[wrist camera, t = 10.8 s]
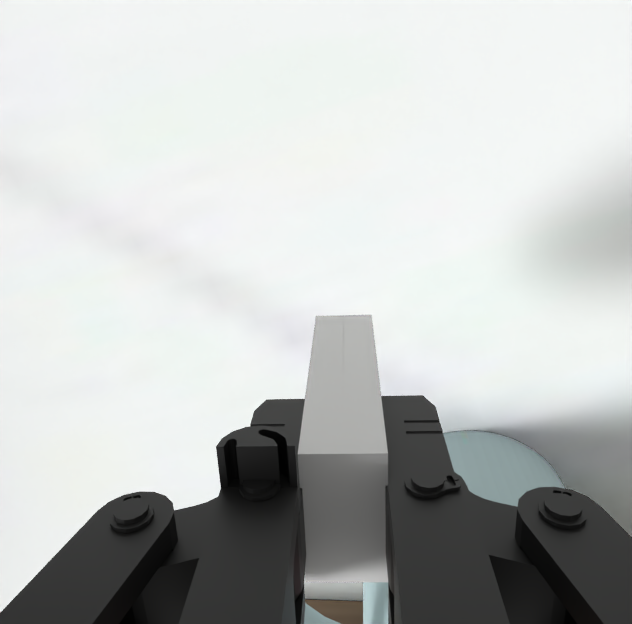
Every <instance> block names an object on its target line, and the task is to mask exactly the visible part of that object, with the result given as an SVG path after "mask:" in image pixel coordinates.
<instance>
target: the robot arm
mask: <svg viewBox="0 0 632 624" xmlns="http://www.w3.org/2000/svg"><path fill="white" fill-rule="evenodd" d="M216 449H217V457H218V466H219V474H220V483H221V490H220V493H219V496H218V497H217V498H215V499H213V500H211V501H209V502H206V503H203V504H200V505H196V506H192V507H188V508H184V509H179V510H175V511H174V509H173V503H172V502H171V501H170V500H169V499H168V498H167V497H166V496H164V495H161V494H158V493H155V492H136V493H131V494H127V495H123V496H121V497H119V498H116V499H114V500H112V501H110V502H108V503H107V504H106V505H105V506H103V507H102V508H101V509H99V510H98V511H97V512H96V513H95V514H94V515H93V516H92V517H91V518H90V519H89V520H88V522H87V523H86V524H85V525H84V526H83V527H82V528H81V529H80V530H79V531H78V532H77V533H76V534H75V535H74V536H73V537H72V538H71V539H70V540H69V541H68V543H67V544H66V545H65V546H64V547H63V548H62V549H61V550H60V551H59V552H58V553H57V554H56V555H55V556H54V557H53V558H52V559H51V560H50V561H49V562H48V563H47V565H46V566H45V567H44V568H43V569H42V570H41V571H40V572H39V573H38V574H37V575H36V576H35V577H34V578H33V579H32V580H31V581H30V582H29V583H28V584H27V586H26V587H25V588H24V589H23V590H22V591H21V592H20V593H19V594H18V595H17V596H16V597H15V598H14V599H13V600H12V601H11V602H10V603H9V604H8V605H7V607H6V608H5V609H4V610H3V611H2V612H1V613H0V624H304V616H305V594H304V576H305V580H306V582H388V624H632V537H631V536H630V535H629V534H628V533H627V532H626V531H625V530H624V529H623V528H622V527H621V526H620V525H619V524H618V523H617V522H616V521H615V520H614V519H613V518H612V517H611V516H610V515H609V514H608V513H607V512H606V511H605V510H604V509H603V508H602V507H601V506H599V505H598V504H597V503H595V502H594V501H593V500H591V499H590V498H589V497H587V496H585V495H582V494H580V493H577V492H575V491H573V490H569V489H564V488H559V487H538V488H535V489H532V490H529V491H526V492H525V493H524V494H523V495H522V496H521V497H520V498H519V501H518V507H517V506H512V505H508V504H503V503H498V502H494V501H491V500H487V499H484V498H482V497H480V496H477V495H475V494H473V493H472V492H470V491H469V490H468V487H467V485H466V483H465V481H464V480H463V478H462V477H461V476H460V475H458V474H457V473H455V472H454V469H453V466H452V462H451V459H450V455H449V452H448V449H447V445H446V442H445V438H444V435H443V433H442V428H441V424H440V423H439V418H438V414H437V411H436V407H435V406H434V405H433V404H432V403H431V402H429V401H428V400H427V399H426V398H425V397H424V396H381V391H380V382H379V374H378V366H377V357H376V349H375V340H374V332H373V324H372V315H345V316H316V320H315V328H314V335H313V343H312V350H311V358H310V365H309V373H308V380H307V388H306V395H305V399H275V400H266V401H265V402H264V403H263V404H261V405H260V406H259V407H258V408H257V409H256V410H255V411H254V414H253V418H252V421H251V427H245V428H242V429H239V430H236V431H233V432H231V433H230V434H228V435H227V436H225V437H224V438H222V439H221V441H220V442H219V444H218V445H217V446H216Z"/></svg>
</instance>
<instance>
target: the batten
mask: <svg viewBox="0 0 632 624" xmlns="http://www.w3.org/2000/svg"><path fill="white" fill-rule="evenodd" d="M305 603H306V604H307V605H309V606H310V607H312V608H313V609H315V610H316V611H317V612H319V613H320V614H322V615H323V616H325V617H327V618H329V619H331V620H334V621H336V622H338V623H341V624H363V601H336V600H305Z"/></svg>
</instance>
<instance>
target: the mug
mask: <svg viewBox="0 0 632 624" xmlns="http://www.w3.org/2000/svg"><path fill="white" fill-rule="evenodd" d="M443 435H444V438H445V442H446V445H447V449H448V452H449V455H450V459H451V462H452V466H453V469H454V472H455V473H457V474H458V475H460V476H461V477H462V478H463V480H464V481H465V483H466V485H467V487H468V490H469V491H470V492H472V493H473V494H475V495H477V496H480V497H482V498H484V499H487V500H491V501H494V502H498V503H503V504H508V505H512V506H517V507H518V501H519V498H520V497H521V496H522V495H523V494H524V493H525V492H526V491H529V490H532V489H535V488H538V487H559V488H564V489H565V487H564V485H563V483H562V481H561V480H560V478H559V476H558V475H557V473H556V472H555V470H554V469H553V468H552V466H551V465H550V464H549V463H548V462H547V461H546V460H545V459H544V458H543V457H542V456H541V455H540V454H538V453H537V452H536V451H534V450H533V449H531V448H530V447H528V446H527V445H525V444H523V443H521V442H519V441H517V440H514V439H512V438H509V437H506V436H503V435H499V434H495V433H490V432H483V431H455V432H448V433H443ZM304 624H341V623H338V622H336V621H334V620H331V619H329V618H327V617H325V616H323V615H322V614H320V613H319V612H317V611H316V610H315V609H313V608H312V607H310V606H309V605H307V604H306V603H305V616H304ZM363 624H388V582H363Z"/></svg>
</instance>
